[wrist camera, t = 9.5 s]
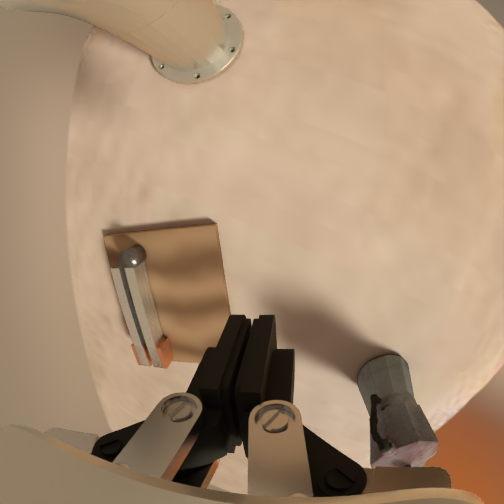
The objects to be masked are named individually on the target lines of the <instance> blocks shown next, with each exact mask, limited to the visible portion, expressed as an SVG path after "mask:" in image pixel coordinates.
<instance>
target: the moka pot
mask: <svg viewBox="0 0 504 504" xmlns="http://www.w3.org/2000/svg"><path fill="white" fill-rule="evenodd" d="M358 387H359V390H360V393H361V395H362V398H363V400H364V403H365V405H366V408H367V410H368V413H369V415H370V464H371V467H372V469H374V468H375V466H382V467H422V466H424V465H425V461H426V460H428V459H429V458H431V457H432V456H433V455H435V453H436V451H437V445H438V439H437V437H436V435H435V434H434V432H433V430H432V428H431V426H430V424H429V422H428V420H427V418H426V416H425V415H424V413H423V411H422V409H421V407H420V405H418V404H417V403H416V401H415V399H414V393H413V387H412V382H411V377H410V372H409V367H408V363H407V362H406V361H405V360H404V359H403V358H402V357H400V356H397V355H386V356H381V357H378V358H376V359H373V360H371V361H369V362H368V363H367V364H366V365H365V366H364V367H363V368H362V369H361V371H360V372H359V374H358Z"/></svg>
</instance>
